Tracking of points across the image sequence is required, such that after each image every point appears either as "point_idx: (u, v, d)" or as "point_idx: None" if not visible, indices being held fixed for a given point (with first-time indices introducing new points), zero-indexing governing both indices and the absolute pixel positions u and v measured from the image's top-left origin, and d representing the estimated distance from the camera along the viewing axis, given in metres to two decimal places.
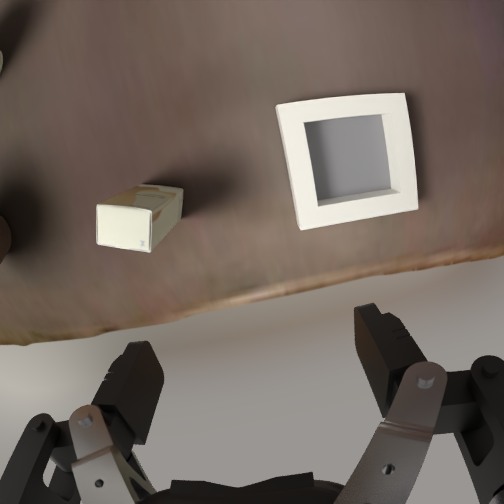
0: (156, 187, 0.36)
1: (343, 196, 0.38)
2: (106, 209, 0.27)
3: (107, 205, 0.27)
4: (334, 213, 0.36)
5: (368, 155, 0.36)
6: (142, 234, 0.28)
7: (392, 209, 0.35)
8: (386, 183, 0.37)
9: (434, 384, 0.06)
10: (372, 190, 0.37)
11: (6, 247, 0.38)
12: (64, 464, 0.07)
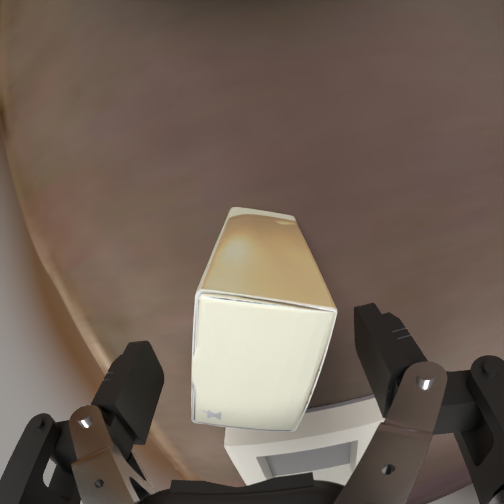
0: None
1: None
2: (317, 340, 0.09)
3: (327, 340, 0.09)
4: (248, 466, 0.25)
5: (308, 462, 0.30)
6: (237, 417, 0.10)
7: None
8: (278, 473, 0.31)
9: (434, 384, 0.06)
10: (270, 467, 0.30)
11: None
12: (64, 464, 0.07)
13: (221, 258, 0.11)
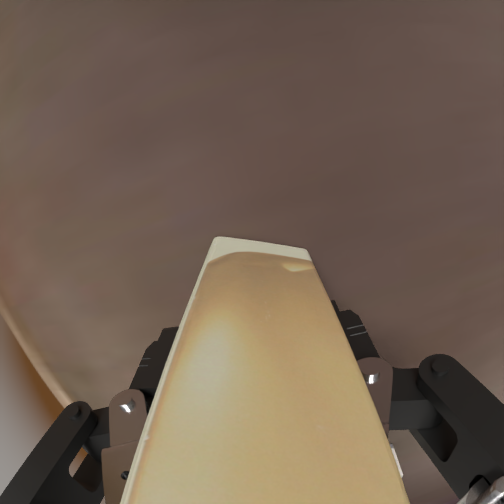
0: None
1: None
2: None
3: None
4: None
5: None
6: None
7: None
8: None
9: (377, 379, 0.07)
10: None
11: None
12: (96, 455, 0.07)
13: (176, 403, 0.04)
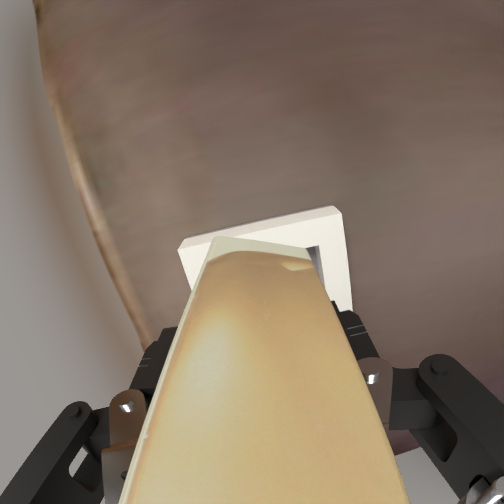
0: None
1: None
2: None
3: None
4: None
5: None
6: None
7: None
8: None
9: (377, 379, 0.07)
10: None
11: None
12: (96, 455, 0.07)
13: (175, 401, 0.04)
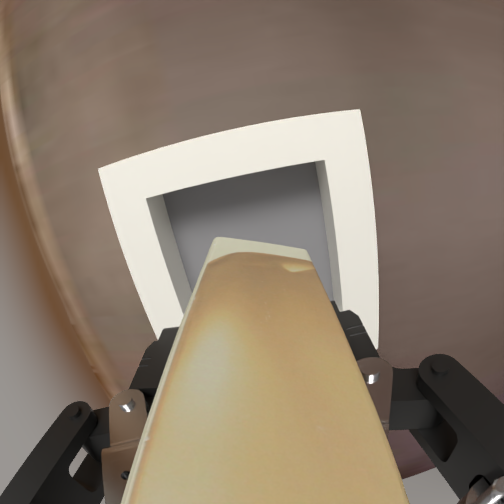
0: None
1: (176, 246, 0.20)
2: None
3: None
4: (138, 234, 0.17)
5: None
6: None
7: None
8: None
9: (377, 379, 0.07)
10: None
11: None
12: (96, 454, 0.07)
13: (176, 404, 0.04)
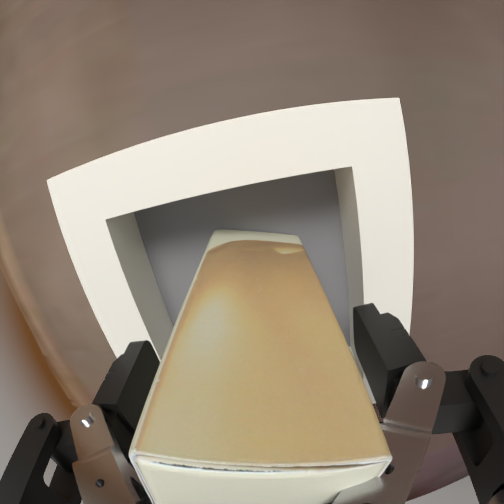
0: None
1: (152, 276, 0.15)
2: None
3: None
4: (98, 266, 0.12)
5: None
6: None
7: None
8: None
9: (432, 384, 0.06)
10: None
11: None
12: (65, 464, 0.07)
13: (181, 354, 0.06)
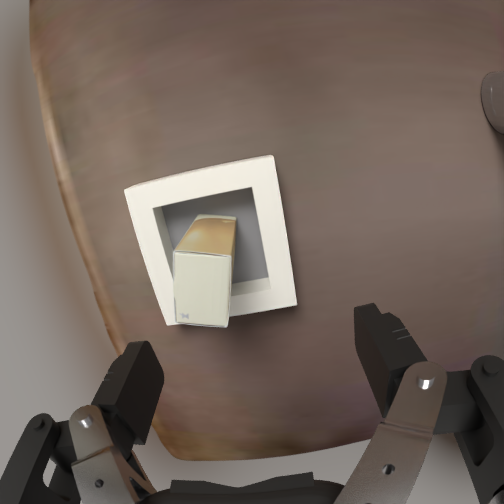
0: None
1: (168, 236, 0.33)
2: (225, 270, 0.22)
3: (230, 271, 0.22)
4: (147, 228, 0.30)
5: None
6: (196, 316, 0.23)
7: (160, 296, 0.32)
8: None
9: (434, 384, 0.06)
10: None
11: None
12: (64, 464, 0.07)
13: (185, 239, 0.23)
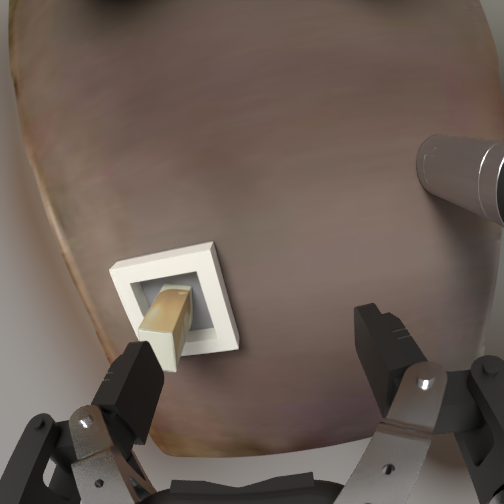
0: (190, 308, 0.43)
1: (145, 298, 0.44)
2: (169, 341, 0.32)
3: (173, 341, 0.33)
4: (127, 296, 0.41)
5: None
6: None
7: None
8: None
9: (434, 384, 0.06)
10: None
11: None
12: (64, 464, 0.07)
13: (147, 317, 0.34)
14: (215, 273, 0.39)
